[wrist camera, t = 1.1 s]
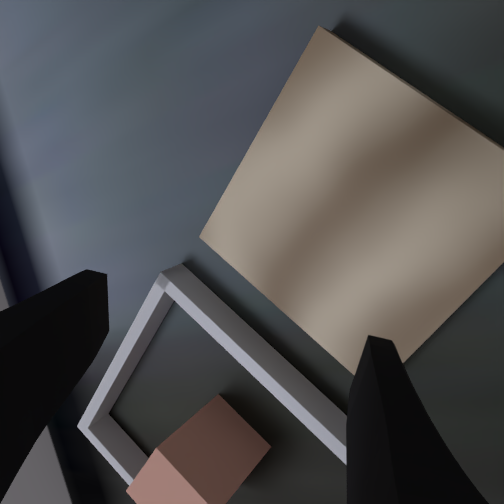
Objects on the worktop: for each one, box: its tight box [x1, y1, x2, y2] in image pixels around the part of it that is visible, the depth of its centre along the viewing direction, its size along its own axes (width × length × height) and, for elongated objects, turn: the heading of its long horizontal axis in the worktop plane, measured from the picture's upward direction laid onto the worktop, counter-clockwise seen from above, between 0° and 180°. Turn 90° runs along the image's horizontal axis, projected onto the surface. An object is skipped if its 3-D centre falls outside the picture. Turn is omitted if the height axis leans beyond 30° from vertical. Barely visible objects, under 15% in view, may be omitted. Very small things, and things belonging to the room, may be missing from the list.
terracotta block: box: [126, 394, 271, 504], centre depth 28 cm, size 4×4×6 cm
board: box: [199, 26, 504, 376], centre depth 23 cm, size 12×12×2 cm
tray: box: [77, 263, 347, 486], centre depth 30 cm, size 18×16×2 cm
